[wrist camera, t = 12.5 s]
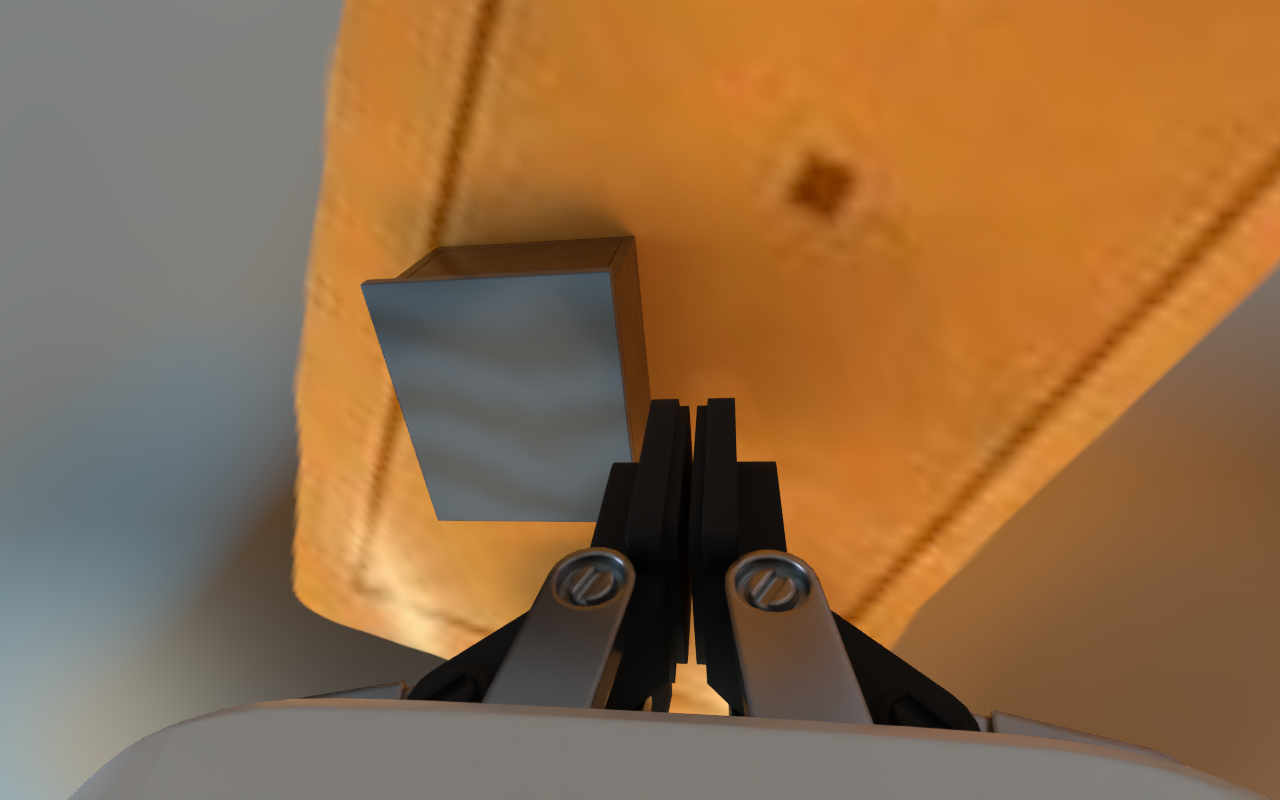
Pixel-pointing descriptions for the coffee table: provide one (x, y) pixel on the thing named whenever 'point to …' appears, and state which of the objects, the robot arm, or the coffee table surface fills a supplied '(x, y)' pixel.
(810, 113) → the coffee table surface
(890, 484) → the coffee table surface
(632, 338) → the brown box
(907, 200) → the coffee table surface
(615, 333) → the blue-grey square panel
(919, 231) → the coffee table surface
